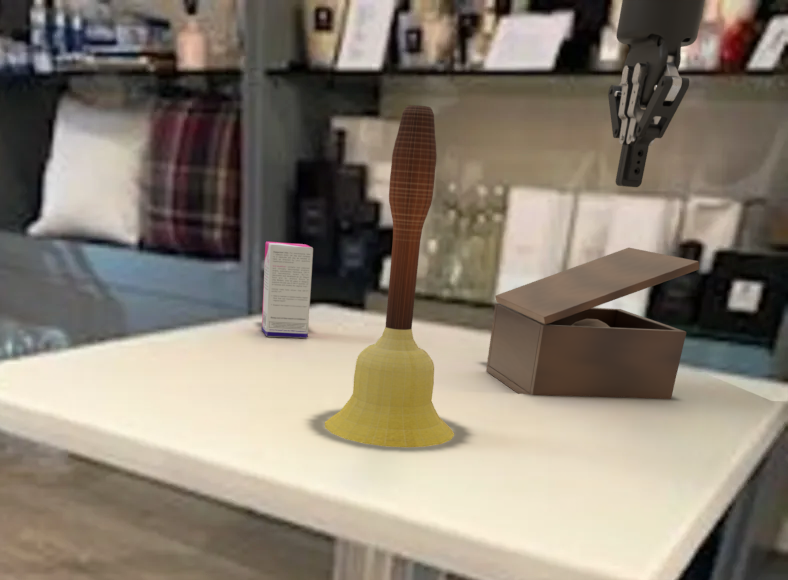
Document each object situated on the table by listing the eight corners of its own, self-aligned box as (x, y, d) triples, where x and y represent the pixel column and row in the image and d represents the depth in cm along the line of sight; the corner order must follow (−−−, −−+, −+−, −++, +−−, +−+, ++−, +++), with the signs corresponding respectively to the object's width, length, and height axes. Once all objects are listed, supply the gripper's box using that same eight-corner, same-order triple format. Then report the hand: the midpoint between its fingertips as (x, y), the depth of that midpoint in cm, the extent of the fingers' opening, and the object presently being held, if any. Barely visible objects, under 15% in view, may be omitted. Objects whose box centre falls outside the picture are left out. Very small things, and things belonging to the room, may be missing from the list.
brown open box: (607, 375, 107) (620, 308, 104) (669, 406, 94) (686, 331, 90) (485, 371, 105) (495, 303, 101) (531, 403, 91) (543, 325, 88)
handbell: (432, 469, 68) (475, 101, 57) (291, 441, 72) (306, 95, 61) (477, 434, 78) (521, 116, 67) (352, 412, 83) (374, 110, 72)
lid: (629, 254, 101) (628, 247, 101) (699, 269, 87) (698, 261, 87) (496, 302, 101) (494, 295, 101) (545, 324, 87) (543, 316, 87)
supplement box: (309, 338, 117) (313, 246, 112) (265, 337, 116) (267, 244, 111) (303, 331, 122) (306, 242, 117) (260, 329, 121) (262, 240, 116)
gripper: (741, -25, 77) (693, 191, 85) (668, -1, 89) (632, 187, 97) (663, -34, 76) (621, 185, 84) (599, -8, 88) (568, 182, 95)
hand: (627, 186), depth 90 cm, fingers closed
